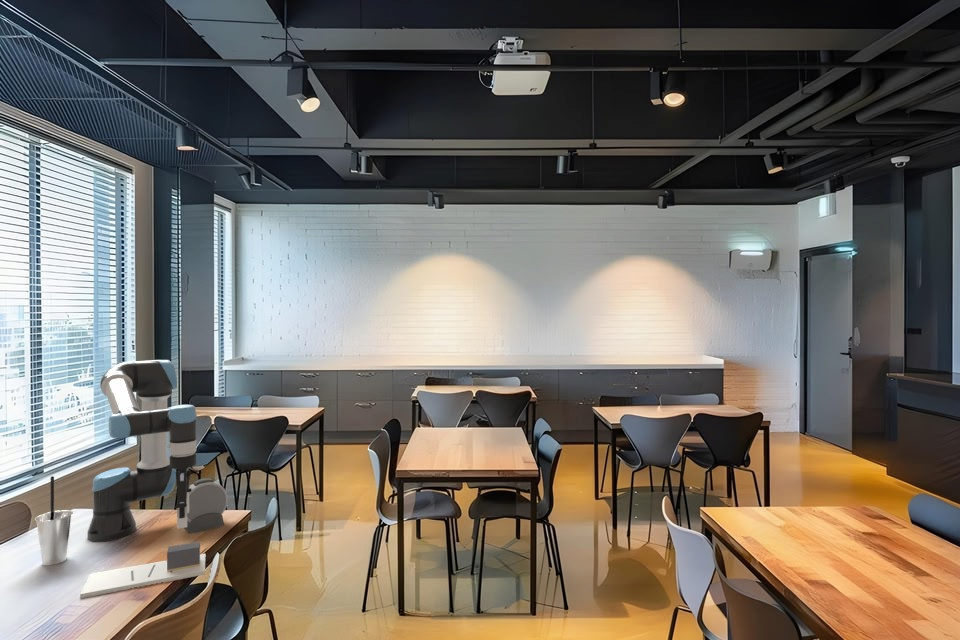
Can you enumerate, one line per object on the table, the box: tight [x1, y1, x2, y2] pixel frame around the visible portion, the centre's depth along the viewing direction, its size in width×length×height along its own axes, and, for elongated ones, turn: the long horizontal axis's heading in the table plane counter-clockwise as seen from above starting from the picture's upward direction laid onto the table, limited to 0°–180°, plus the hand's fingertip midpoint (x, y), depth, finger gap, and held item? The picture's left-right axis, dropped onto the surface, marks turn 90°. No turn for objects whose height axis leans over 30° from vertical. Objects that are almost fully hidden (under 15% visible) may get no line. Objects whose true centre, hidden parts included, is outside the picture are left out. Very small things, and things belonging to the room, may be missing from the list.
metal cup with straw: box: [34, 476, 74, 566], centre depth 180 cm, size 11×11×30 cm
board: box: [79, 553, 207, 599], centre depth 169 cm, size 14×32×1 cm, turn 116°
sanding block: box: [166, 540, 201, 572], centre depth 174 cm, size 5×9×6 cm, turn 116°
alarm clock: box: [183, 477, 229, 534], centre depth 210 cm, size 16×10×18 cm, turn 133°
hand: (183, 520), depth 174 cm, fingers open, 13 cm apart
